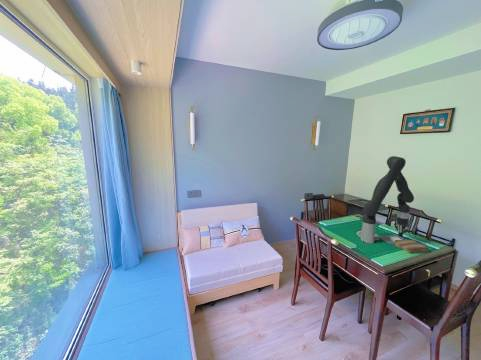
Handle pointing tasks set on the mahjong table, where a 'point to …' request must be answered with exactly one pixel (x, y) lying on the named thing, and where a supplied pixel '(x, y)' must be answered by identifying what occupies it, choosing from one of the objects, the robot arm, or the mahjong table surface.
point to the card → (395, 238)
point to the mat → (387, 238)
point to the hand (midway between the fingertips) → (400, 236)
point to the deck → (411, 246)
